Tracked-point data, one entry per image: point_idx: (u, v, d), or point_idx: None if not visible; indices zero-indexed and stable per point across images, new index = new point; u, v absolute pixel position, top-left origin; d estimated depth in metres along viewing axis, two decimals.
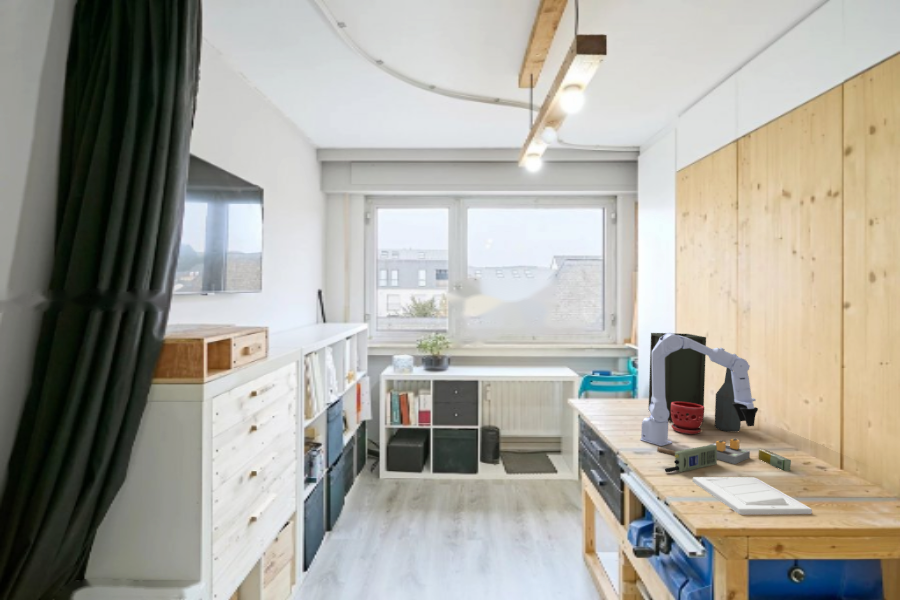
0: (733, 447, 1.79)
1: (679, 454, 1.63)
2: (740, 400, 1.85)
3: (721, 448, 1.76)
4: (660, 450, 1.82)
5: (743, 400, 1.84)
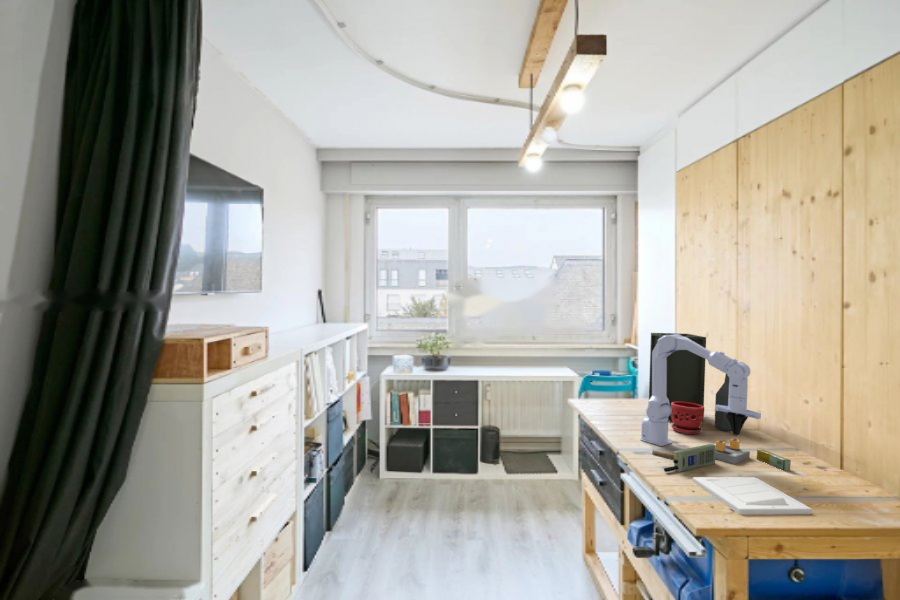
0: (733, 447, 1.79)
1: (678, 454, 1.63)
2: (742, 410, 1.70)
3: (721, 448, 1.76)
4: (655, 453, 1.79)
5: (744, 410, 1.70)
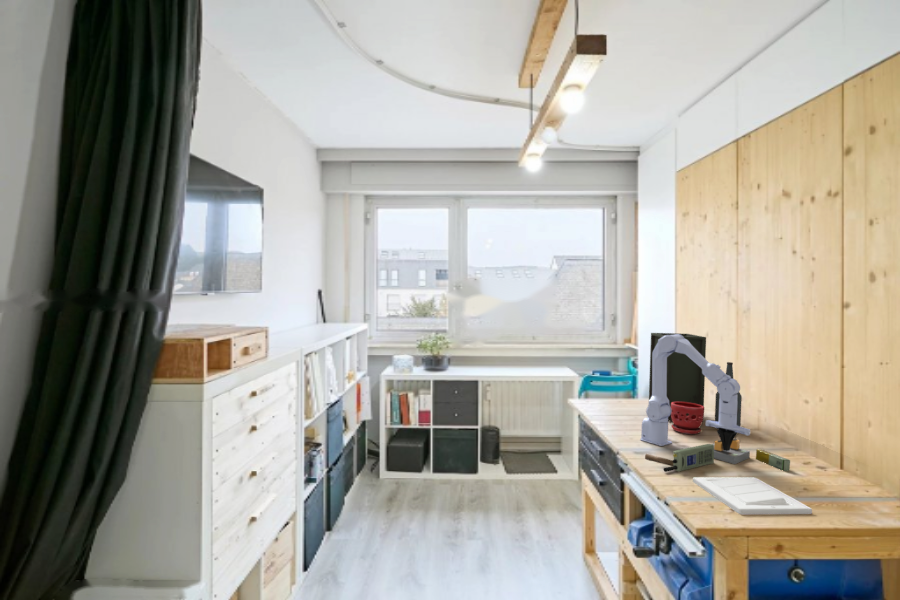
0: (733, 447, 1.79)
1: (677, 453, 1.63)
2: (732, 426, 1.73)
3: (720, 448, 1.77)
4: None
5: (734, 426, 1.73)
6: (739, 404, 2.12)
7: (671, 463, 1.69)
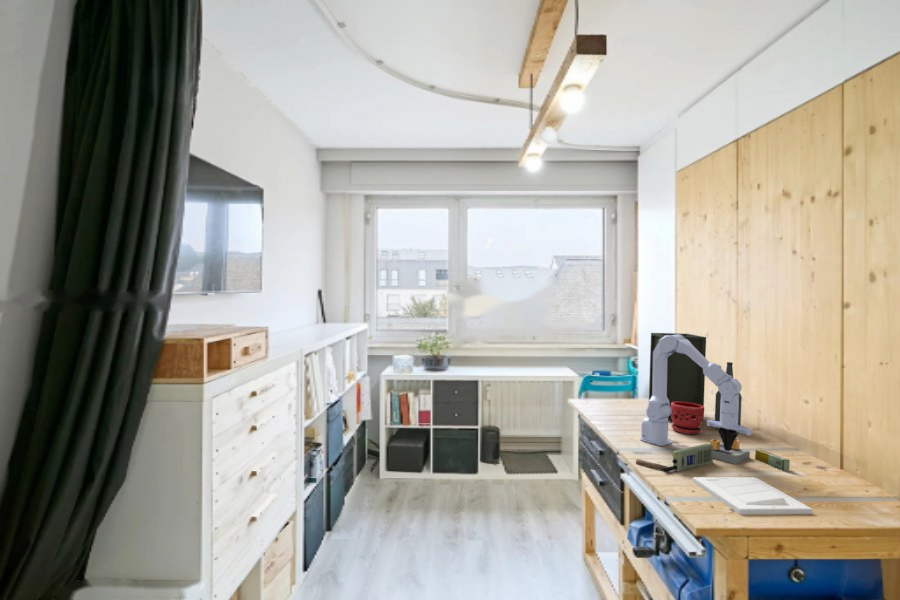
0: (733, 447, 1.79)
1: (677, 453, 1.63)
2: (733, 426, 1.72)
3: (715, 446, 1.78)
4: (639, 463, 1.69)
5: (735, 426, 1.73)
6: (739, 404, 2.12)
7: None
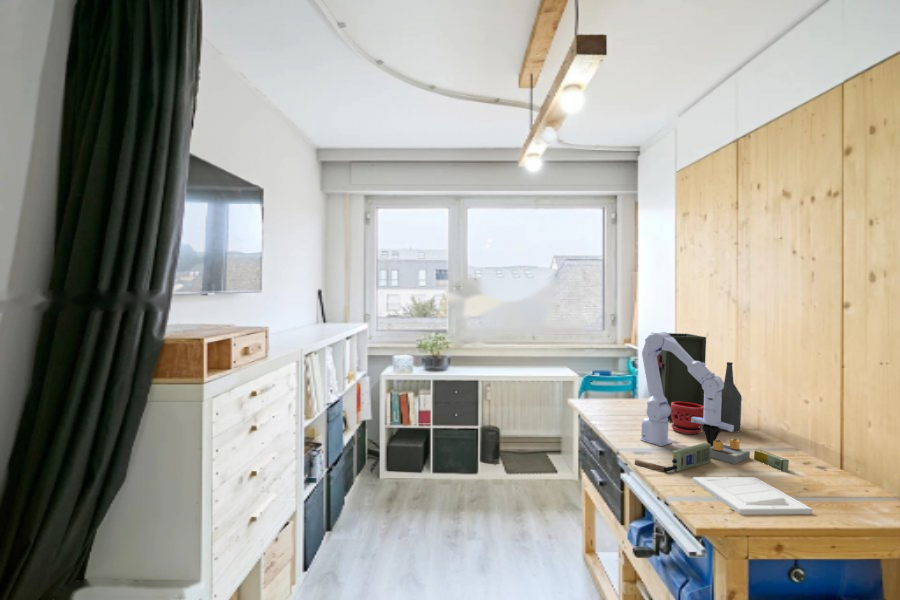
0: (733, 447, 1.79)
1: (677, 453, 1.63)
2: (716, 422, 1.77)
3: (718, 447, 1.77)
4: None
5: (718, 422, 1.77)
6: (739, 404, 2.12)
7: (662, 466, 1.63)
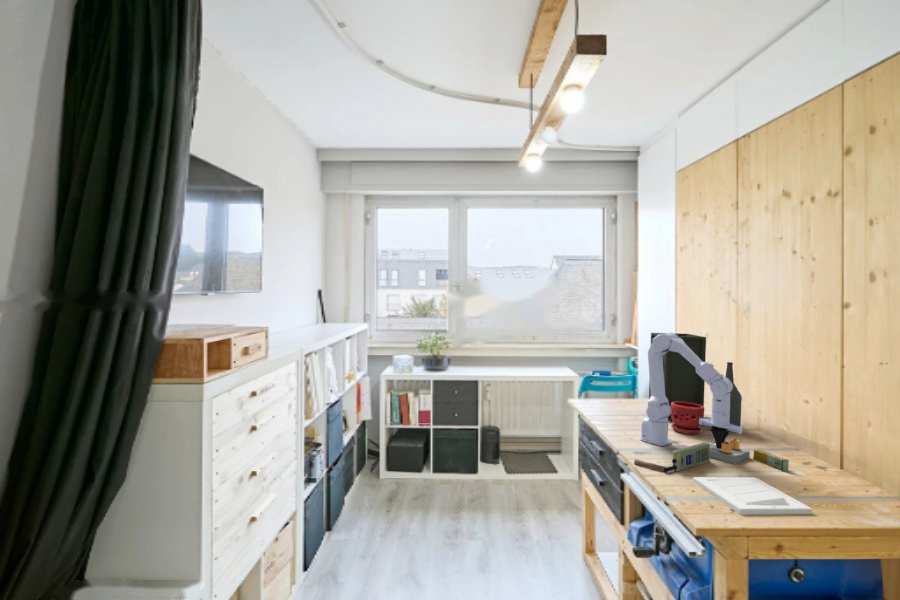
0: (733, 447, 1.79)
1: (677, 453, 1.63)
2: (724, 424, 1.75)
3: (727, 450, 1.74)
4: None
5: (727, 424, 1.75)
6: (739, 404, 2.12)
7: (661, 467, 1.63)
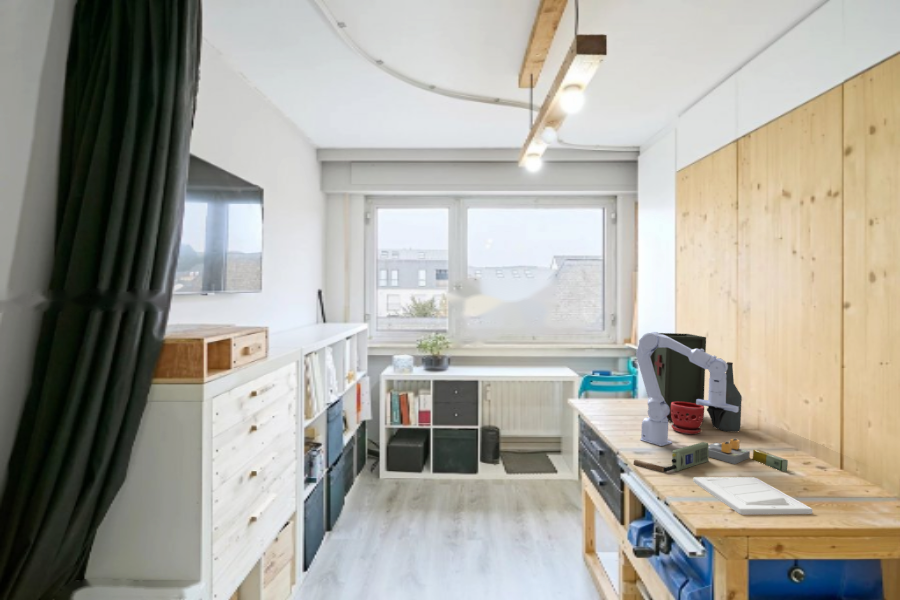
0: (733, 447, 1.79)
1: (676, 453, 1.64)
2: (721, 403, 1.79)
3: (727, 450, 1.74)
4: None
5: (723, 403, 1.79)
6: (739, 404, 2.12)
7: (660, 468, 1.62)
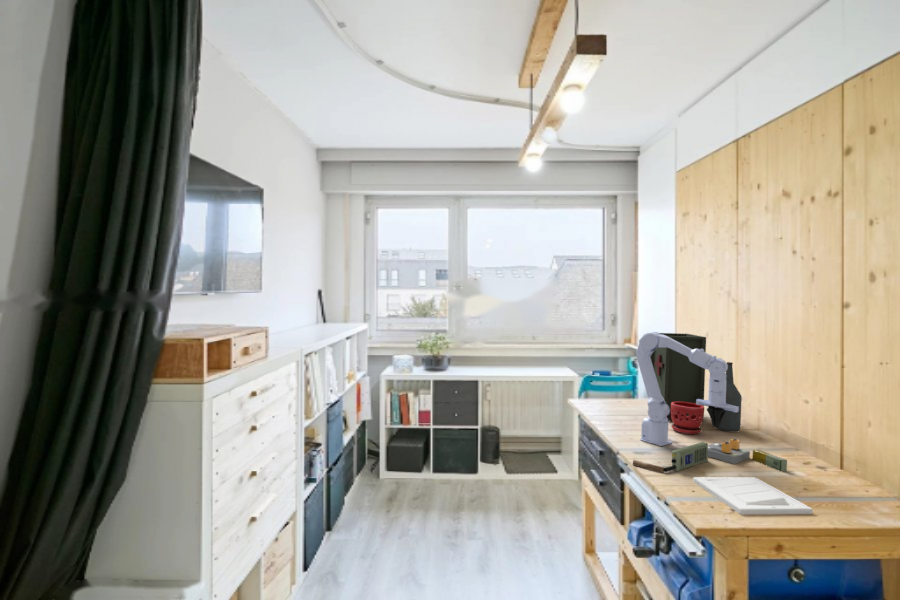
0: (733, 447, 1.79)
1: (676, 453, 1.64)
2: (721, 403, 1.79)
3: (727, 450, 1.74)
4: None
5: (723, 403, 1.79)
6: (739, 404, 2.12)
7: (660, 471, 1.62)
